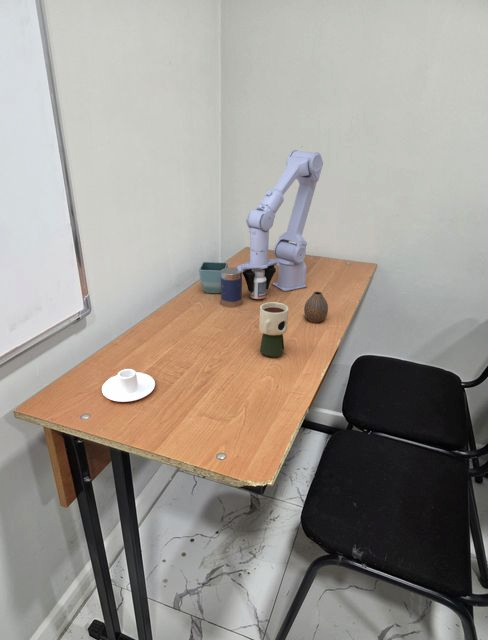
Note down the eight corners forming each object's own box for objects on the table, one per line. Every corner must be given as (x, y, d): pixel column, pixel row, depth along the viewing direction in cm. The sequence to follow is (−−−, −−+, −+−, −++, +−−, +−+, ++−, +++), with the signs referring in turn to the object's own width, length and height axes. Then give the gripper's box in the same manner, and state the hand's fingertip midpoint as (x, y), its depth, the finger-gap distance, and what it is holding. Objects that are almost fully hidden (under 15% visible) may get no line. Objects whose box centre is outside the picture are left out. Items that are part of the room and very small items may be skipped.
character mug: (277, 365, 111) (279, 318, 105) (251, 359, 114) (252, 313, 108) (291, 346, 120) (295, 302, 113) (267, 341, 122) (269, 297, 116)
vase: (329, 317, 136) (332, 290, 131) (323, 326, 130) (326, 299, 126) (307, 313, 138) (309, 287, 134) (300, 322, 133) (302, 295, 128)
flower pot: (228, 286, 158) (228, 262, 154) (225, 296, 150) (225, 270, 146) (203, 285, 159) (202, 261, 154) (199, 295, 151) (198, 270, 147)
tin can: (235, 297, 149) (235, 266, 144) (245, 304, 144) (245, 272, 139) (217, 301, 147) (217, 269, 141) (226, 308, 141) (226, 275, 136)
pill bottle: (267, 294, 150) (268, 269, 145) (263, 300, 145) (264, 274, 141) (252, 292, 151) (253, 267, 147) (248, 298, 147) (248, 272, 142)
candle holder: (107, 375, 107) (104, 360, 105) (157, 373, 108) (155, 358, 106) (97, 405, 97) (94, 389, 95) (153, 403, 98) (151, 386, 96)
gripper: (245, 256, 134) (244, 297, 141) (285, 249, 140) (283, 289, 147) (234, 249, 140) (234, 290, 147) (273, 243, 146) (271, 282, 152)
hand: (258, 289), depth 147 cm, fingers closed on pill bottle, 5 cm apart
